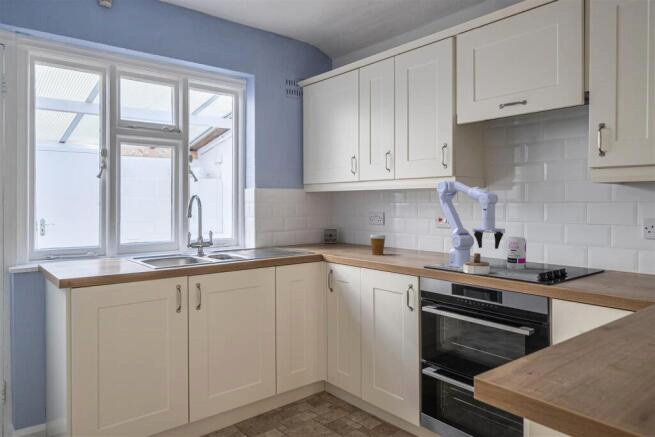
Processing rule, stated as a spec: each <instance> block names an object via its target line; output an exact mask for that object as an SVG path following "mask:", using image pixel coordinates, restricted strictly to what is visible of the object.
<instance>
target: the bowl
mask: <svg viewBox="0 0 655 437" xmlns="http://www.w3.org/2000/svg"><path fill="white" fill-rule="evenodd" d="M490 268H491V267H490V264H489V266H469V265H465V264H463V267H462V269H463V273H466V274H470V275H471V274H472V275H486V274H487V275H488V274H490V272H491V271H490Z"/></svg>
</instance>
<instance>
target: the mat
mask: <svg viewBox="0 0 655 437" xmlns="http://www.w3.org/2000/svg"><path fill="white" fill-rule="evenodd" d="M490 272H495V273H503V274H505V273H506V274H512V275H514V274H517V273H519V272H521V270H518V269H505V268H496V267H494V268H493V267H490Z"/></svg>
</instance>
